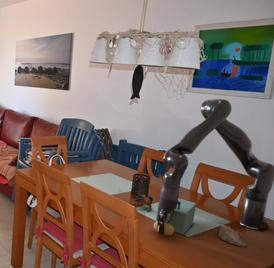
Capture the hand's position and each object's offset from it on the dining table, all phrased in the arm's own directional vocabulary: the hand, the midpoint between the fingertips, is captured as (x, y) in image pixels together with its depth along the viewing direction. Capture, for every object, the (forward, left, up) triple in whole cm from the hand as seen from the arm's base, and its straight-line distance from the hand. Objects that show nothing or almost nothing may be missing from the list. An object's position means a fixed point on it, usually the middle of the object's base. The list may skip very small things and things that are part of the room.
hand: (163, 231), depth 150 cm
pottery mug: (+19, -24, -2) cm, 31 cm away
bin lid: (0, -16, +8) cm, 18 cm away
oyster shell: (-24, -20, -2) cm, 32 cm away
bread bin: (0, -16, -1) cm, 16 cm away
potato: (0, 0, -1) cm, 1 cm away
